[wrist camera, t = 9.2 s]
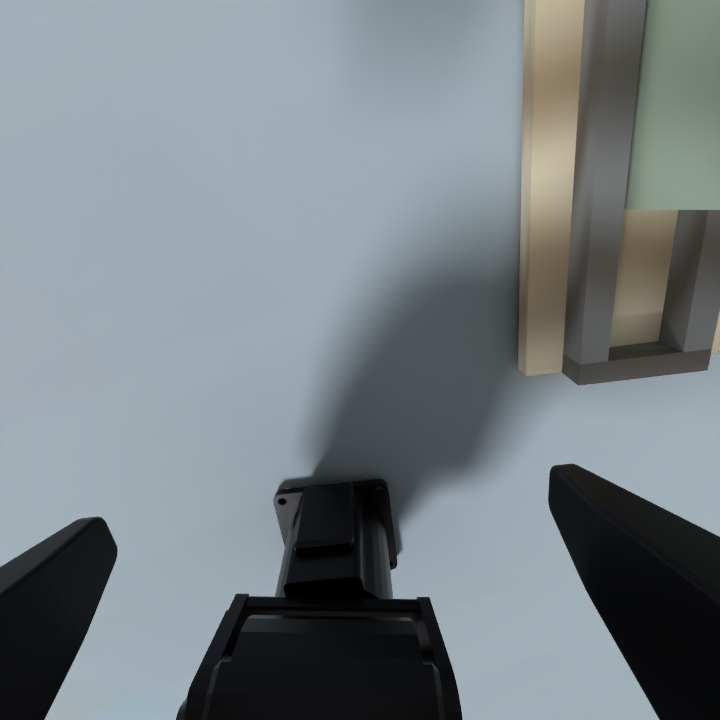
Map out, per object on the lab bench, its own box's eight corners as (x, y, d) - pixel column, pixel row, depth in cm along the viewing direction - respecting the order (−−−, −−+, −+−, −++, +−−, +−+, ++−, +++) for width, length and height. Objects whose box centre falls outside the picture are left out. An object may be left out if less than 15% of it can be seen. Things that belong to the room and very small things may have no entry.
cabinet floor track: (700, 346, 20) (747, 365, 17) (518, 368, 20) (539, 390, 18) (834, -348, 12) (954, -487, 9) (530, -293, 12) (572, -415, 10)
